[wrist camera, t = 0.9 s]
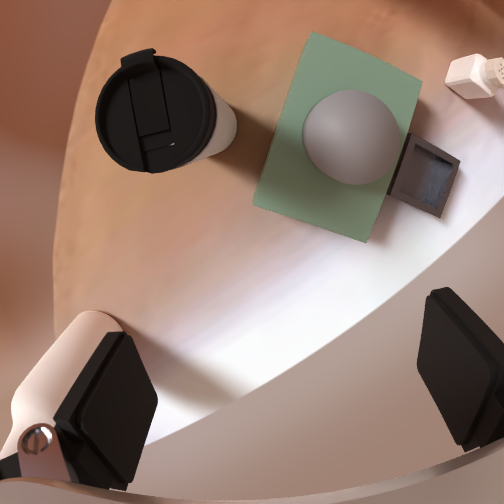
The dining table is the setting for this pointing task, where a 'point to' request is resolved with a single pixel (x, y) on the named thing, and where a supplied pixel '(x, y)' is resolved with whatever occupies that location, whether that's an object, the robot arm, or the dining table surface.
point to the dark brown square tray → (423, 175)
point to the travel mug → (161, 115)
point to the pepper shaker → (475, 76)
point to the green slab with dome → (337, 138)
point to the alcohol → (56, 374)
